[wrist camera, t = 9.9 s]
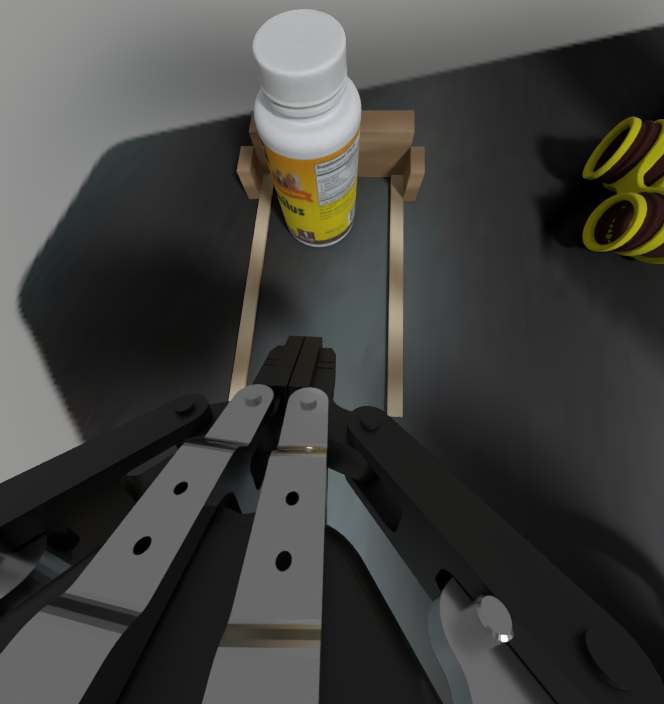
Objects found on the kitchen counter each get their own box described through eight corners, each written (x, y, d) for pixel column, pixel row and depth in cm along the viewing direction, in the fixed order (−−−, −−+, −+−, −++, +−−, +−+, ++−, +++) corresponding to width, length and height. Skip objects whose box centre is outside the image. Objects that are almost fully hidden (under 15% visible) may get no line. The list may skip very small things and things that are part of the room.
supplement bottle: (276, 211, 20) (212, 26, 10) (333, 183, 21) (325, -24, 11) (306, 262, 19) (267, 109, 9) (367, 231, 20) (392, 51, 10)
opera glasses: (569, 163, 20) (641, 87, 15) (638, 171, 20) (735, 95, 15) (568, 266, 18) (650, 216, 13) (644, 278, 18) (758, 230, 13)
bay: (416, 417, 16) (436, 421, 13) (215, 404, 17) (183, 404, 14) (414, 158, 21) (428, 110, 17) (255, 157, 22) (239, 111, 18)
